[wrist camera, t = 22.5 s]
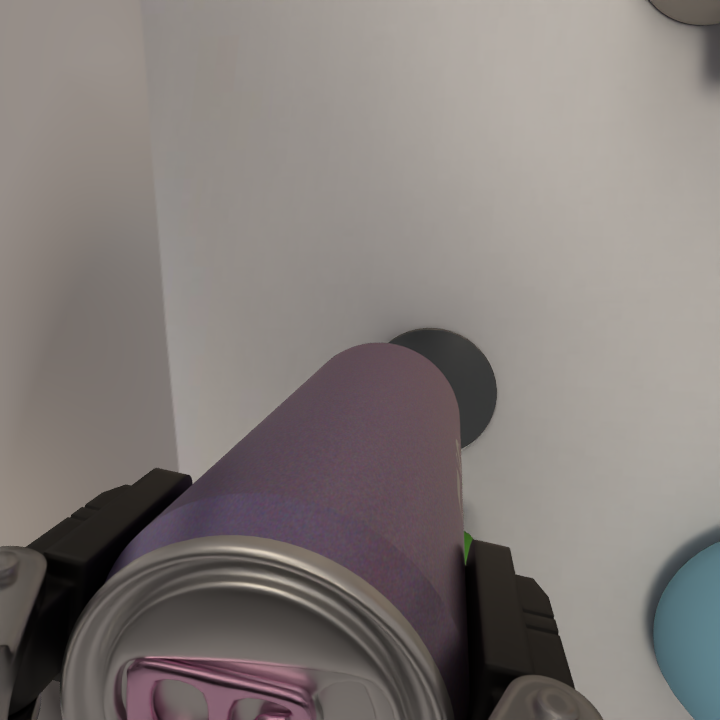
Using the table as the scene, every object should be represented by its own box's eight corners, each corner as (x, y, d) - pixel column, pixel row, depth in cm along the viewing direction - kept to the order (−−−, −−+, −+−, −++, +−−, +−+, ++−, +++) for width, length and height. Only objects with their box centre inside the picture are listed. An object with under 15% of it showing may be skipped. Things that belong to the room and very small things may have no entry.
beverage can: (315, 329, 22) (41, 494, 7) (470, 351, 21) (508, 583, 6) (302, 472, 23) (46, 854, 9) (447, 497, 22) (437, 966, 8)
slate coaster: (355, 439, 40) (355, 440, 40) (377, 317, 38) (376, 317, 38) (481, 466, 39) (481, 467, 39) (509, 341, 37) (510, 342, 37)
